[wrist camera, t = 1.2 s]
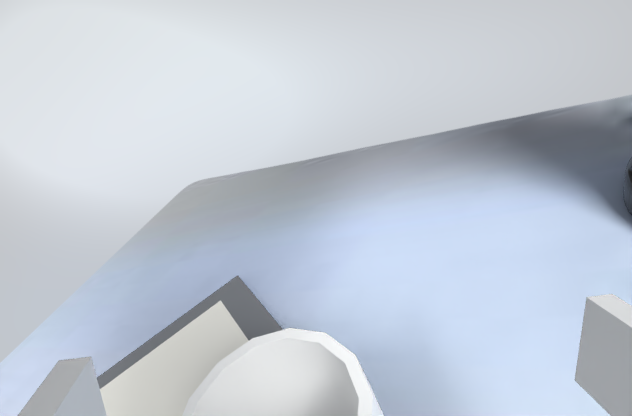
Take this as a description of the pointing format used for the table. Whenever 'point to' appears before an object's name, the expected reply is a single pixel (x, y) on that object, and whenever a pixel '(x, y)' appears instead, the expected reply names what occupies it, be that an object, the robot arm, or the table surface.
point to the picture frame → (184, 354)
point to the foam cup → (286, 380)
